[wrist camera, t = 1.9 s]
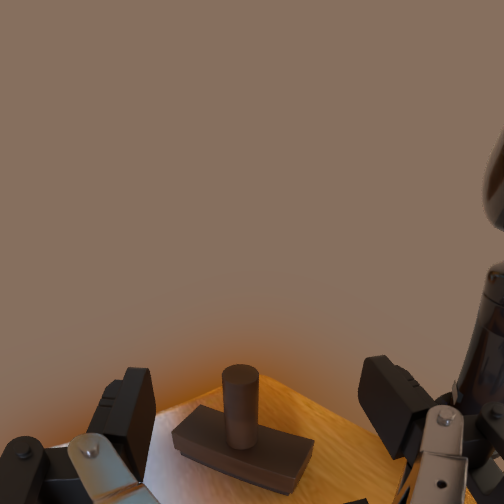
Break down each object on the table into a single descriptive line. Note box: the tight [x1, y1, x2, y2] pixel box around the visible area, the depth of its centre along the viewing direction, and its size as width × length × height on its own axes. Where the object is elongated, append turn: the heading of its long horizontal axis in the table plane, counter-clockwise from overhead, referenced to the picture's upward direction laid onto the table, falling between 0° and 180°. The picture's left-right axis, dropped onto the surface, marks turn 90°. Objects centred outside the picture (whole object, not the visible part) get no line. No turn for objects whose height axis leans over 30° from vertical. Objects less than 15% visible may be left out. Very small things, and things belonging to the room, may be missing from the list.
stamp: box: [171, 364, 314, 496], centre depth 25 cm, size 5×12×11 cm, turn 64°
